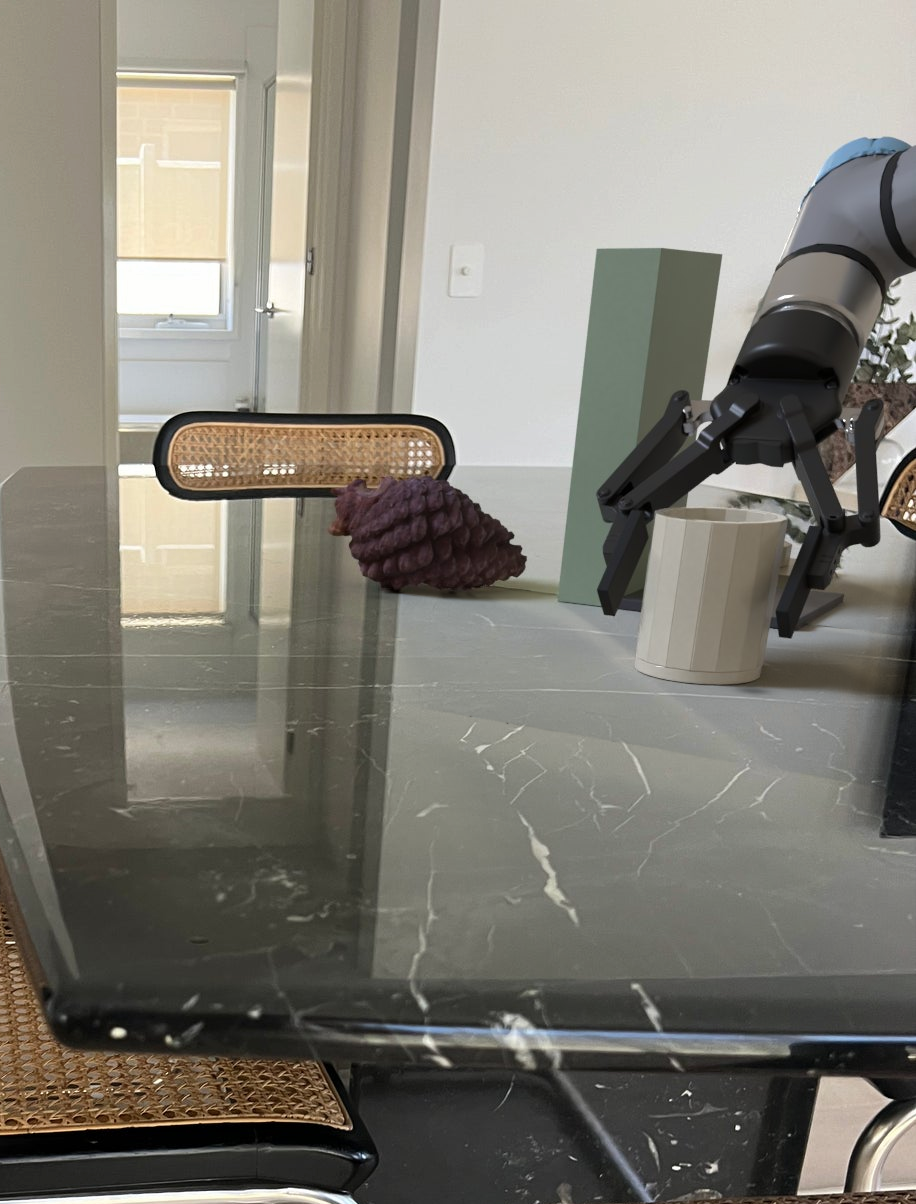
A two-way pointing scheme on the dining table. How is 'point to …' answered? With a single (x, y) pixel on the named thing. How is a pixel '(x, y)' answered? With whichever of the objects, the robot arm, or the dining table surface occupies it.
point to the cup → (709, 594)
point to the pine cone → (424, 535)
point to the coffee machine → (638, 396)
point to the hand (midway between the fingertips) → (691, 613)
